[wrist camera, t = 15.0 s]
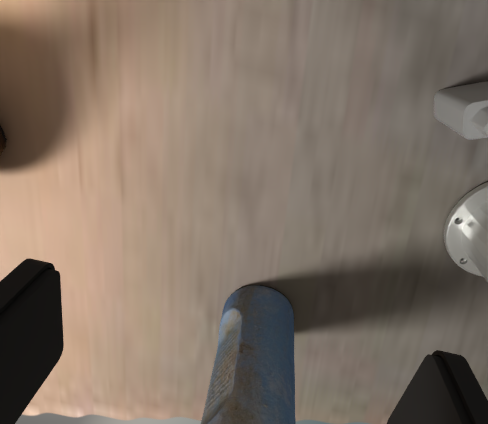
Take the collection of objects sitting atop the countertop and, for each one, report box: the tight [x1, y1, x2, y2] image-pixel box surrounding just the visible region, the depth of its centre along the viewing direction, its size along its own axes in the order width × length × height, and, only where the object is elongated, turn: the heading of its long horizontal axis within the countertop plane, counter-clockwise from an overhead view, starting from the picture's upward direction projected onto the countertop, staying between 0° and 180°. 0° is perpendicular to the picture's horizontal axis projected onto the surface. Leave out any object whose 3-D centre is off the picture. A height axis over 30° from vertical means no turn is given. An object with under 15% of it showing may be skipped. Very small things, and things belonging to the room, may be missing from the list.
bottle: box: [201, 286, 295, 424], centre depth 39 cm, size 10×10×30 cm
